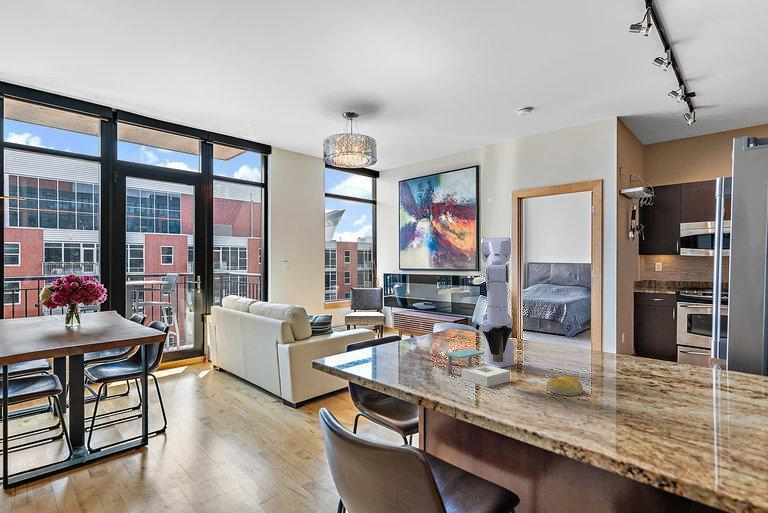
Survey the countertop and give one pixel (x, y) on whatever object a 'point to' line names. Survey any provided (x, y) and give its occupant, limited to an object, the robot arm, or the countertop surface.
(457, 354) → the awning
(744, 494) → the countertop surface
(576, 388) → the bread roll
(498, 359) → the peg
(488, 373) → the socket block
